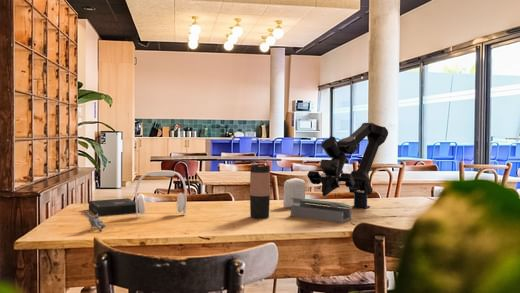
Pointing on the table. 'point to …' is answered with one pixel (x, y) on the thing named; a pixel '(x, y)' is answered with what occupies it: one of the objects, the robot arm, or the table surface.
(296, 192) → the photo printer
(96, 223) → the elephant figurine
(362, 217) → the table surface
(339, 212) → the cable duct
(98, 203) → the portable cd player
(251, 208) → the travel mug
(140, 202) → the headset
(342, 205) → the duct cover
